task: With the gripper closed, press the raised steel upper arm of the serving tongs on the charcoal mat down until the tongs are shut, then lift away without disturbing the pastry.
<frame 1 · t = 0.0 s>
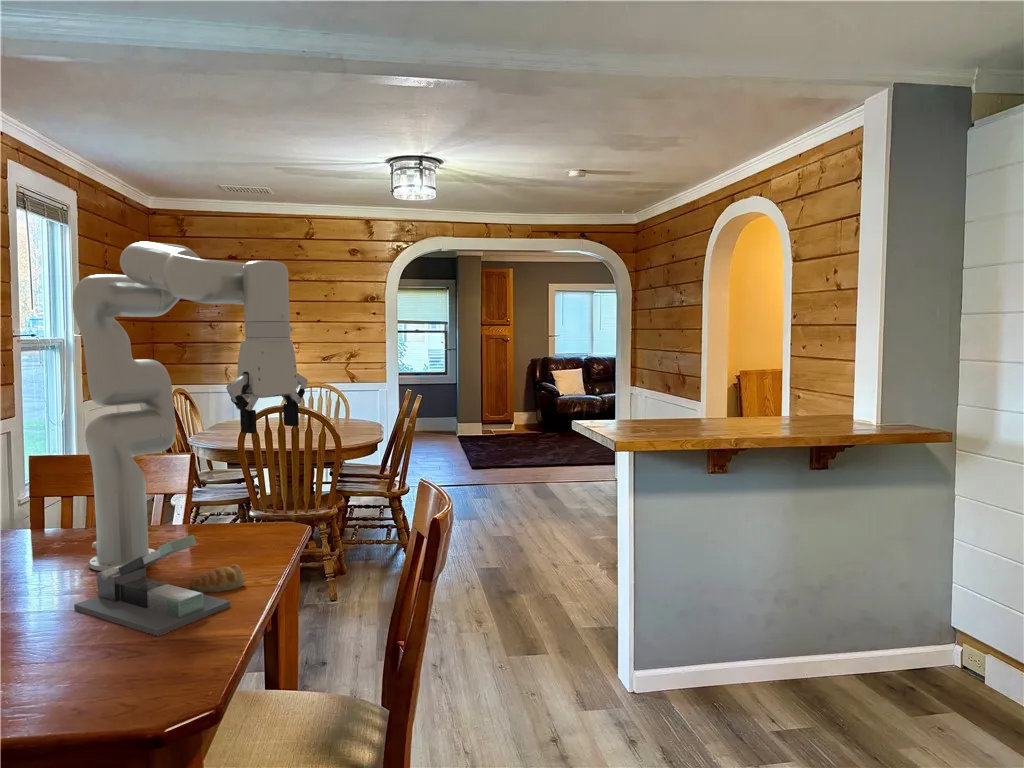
hand: (270, 429, 128), 31 cm above the table, tool pointing down, fingers open, 9 cm apart
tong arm: (156, 555, 126), point 10 cm above the table, hinge at 25.0°
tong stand: (123, 599, 132), resting on slate mat
pastry: (220, 588, 138), on the table
slate mat: (152, 608, 127), on the table
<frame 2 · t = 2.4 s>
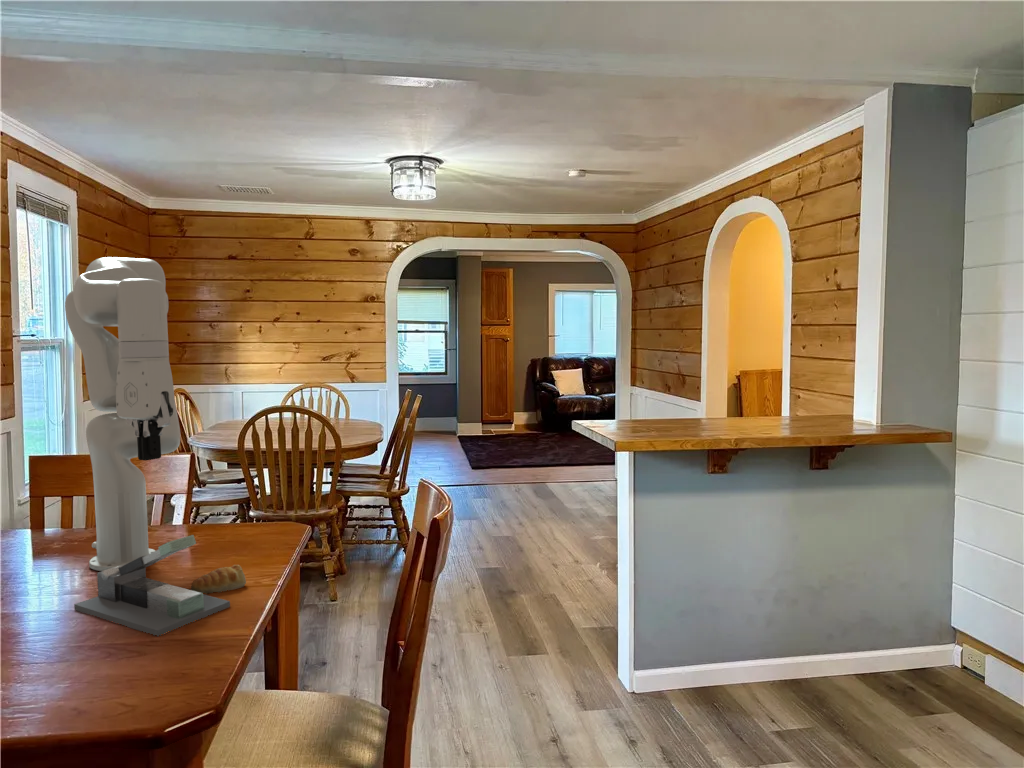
hand: (149, 458, 124), 27 cm above the table, tool pointing down, fingers closed
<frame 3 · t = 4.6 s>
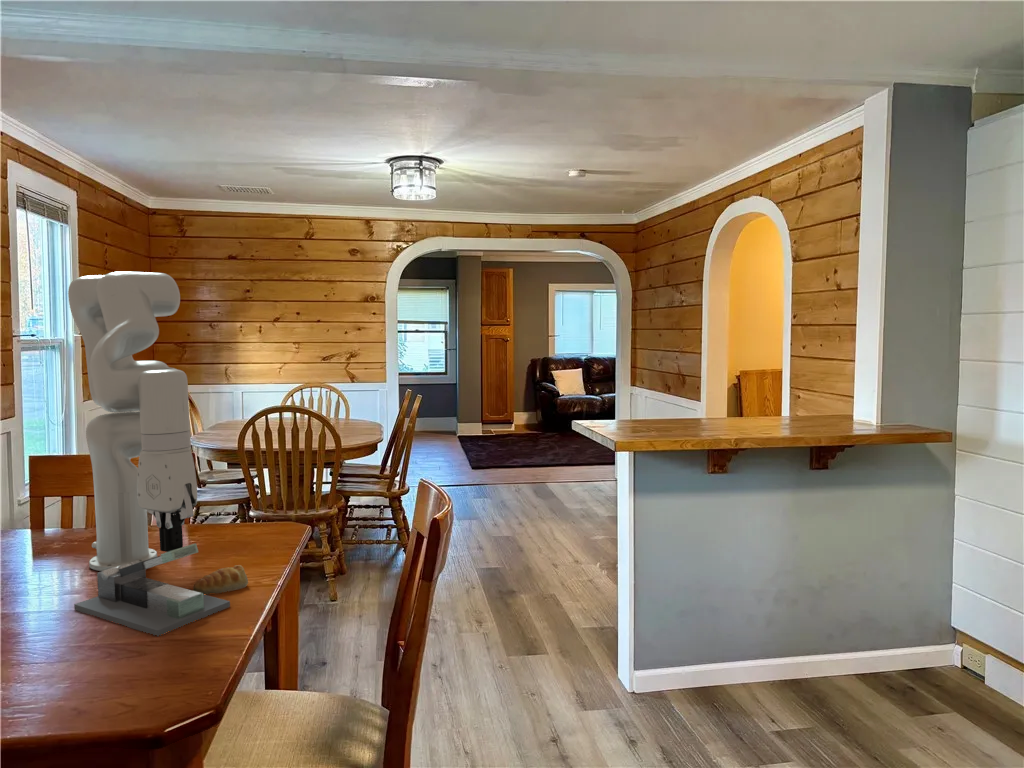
hand: (171, 549, 123), 12 cm above the table, tool pointing down, fingers closed
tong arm: (157, 560, 126), point 9 cm above the table, hinge at 20.4°, touching gripper
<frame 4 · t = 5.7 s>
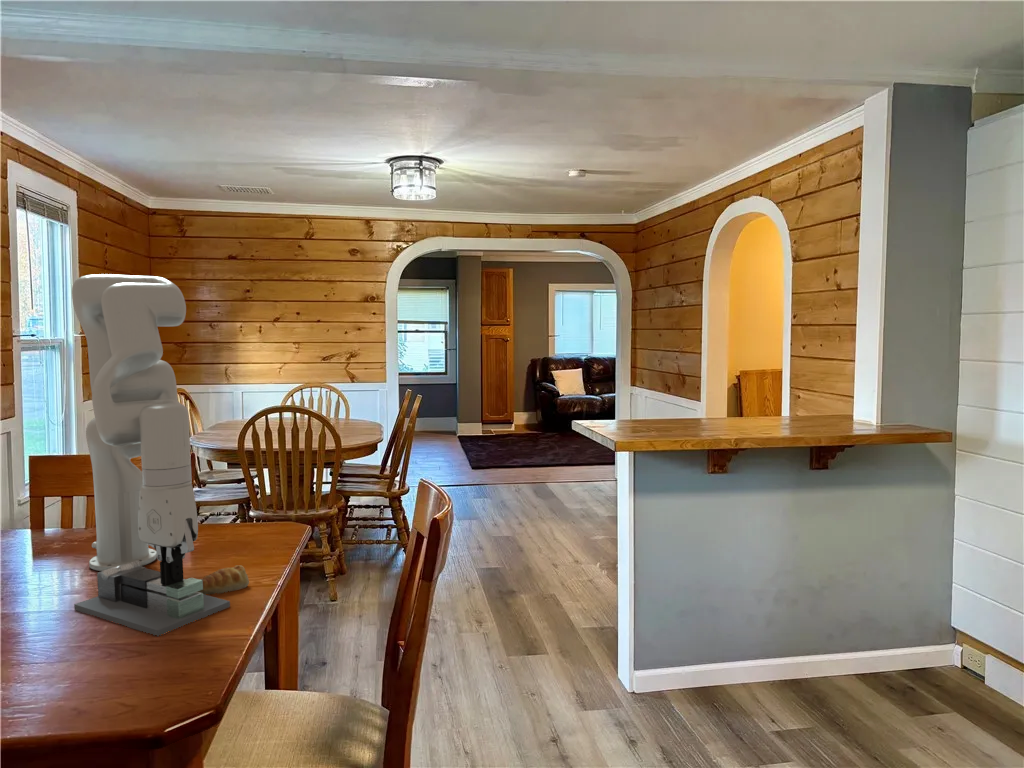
hand: (172, 582, 124), 6 cm above the table, tool pointing down, fingers closed
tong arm: (160, 582, 126), point 5 cm above the table, hinge at 0.9°, touching gripper
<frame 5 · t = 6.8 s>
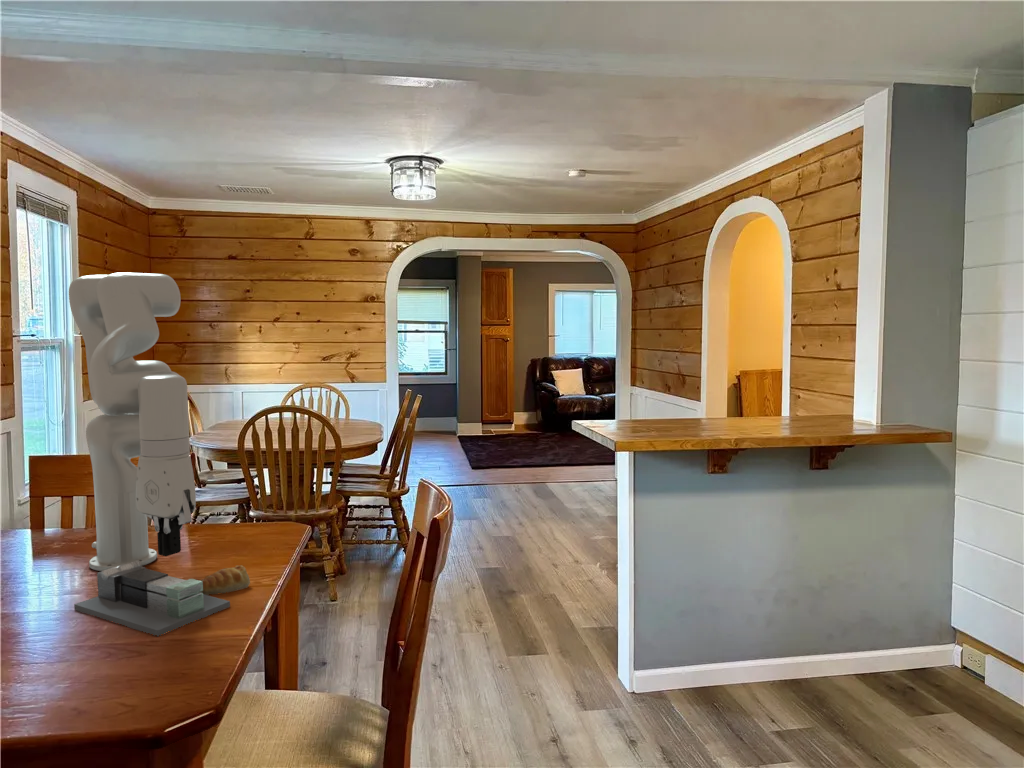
hand: (169, 553, 124), 11 cm above the table, tool pointing down, fingers closed
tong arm: (160, 582, 126), point 5 cm above the table, hinge at 0.3°
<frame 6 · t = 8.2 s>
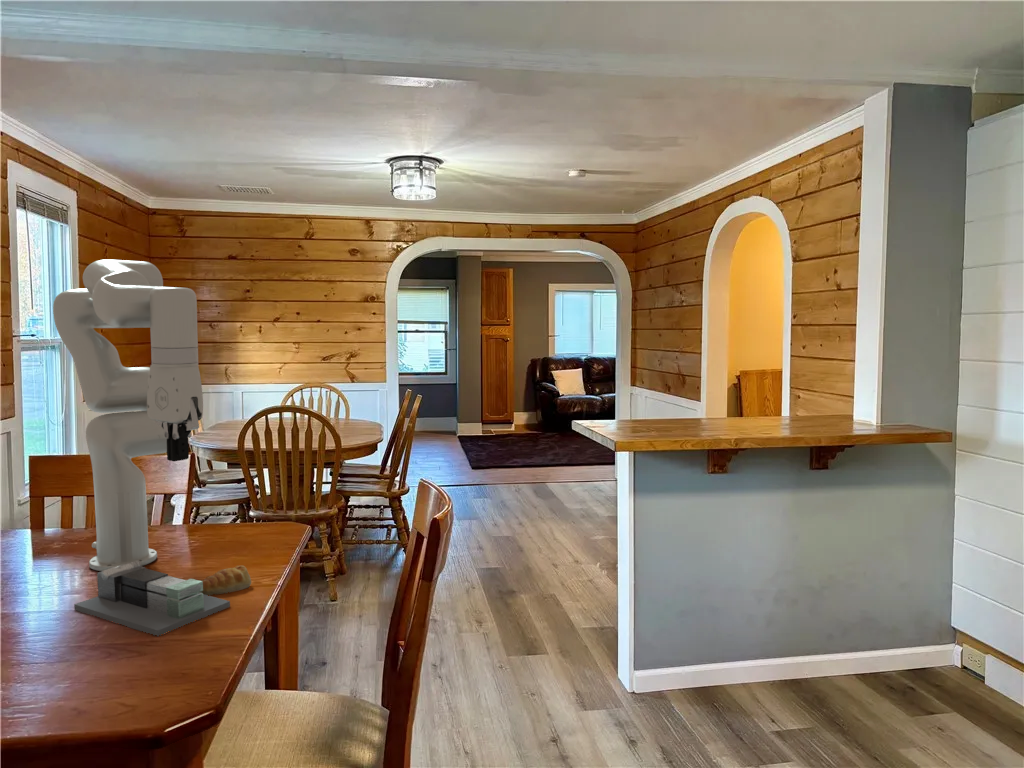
hand: (178, 459, 130), 26 cm above the table, tool pointing down, fingers closed
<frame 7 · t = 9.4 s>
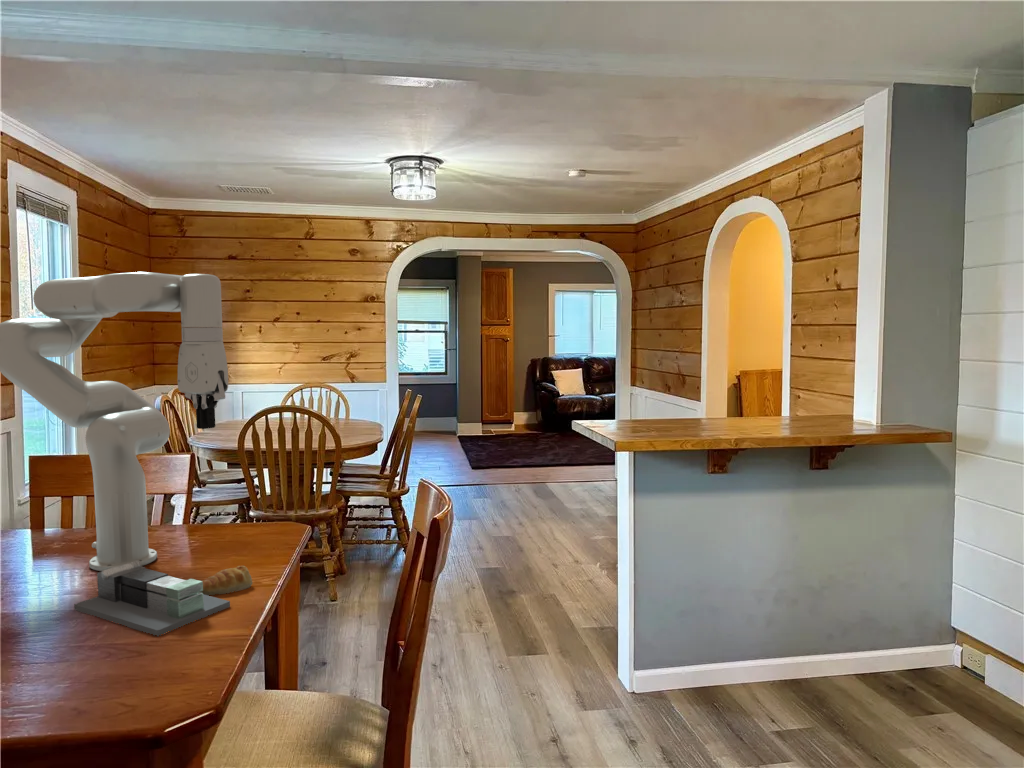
hand: (206, 427, 146), 29 cm above the table, tool pointing down, fingers closed
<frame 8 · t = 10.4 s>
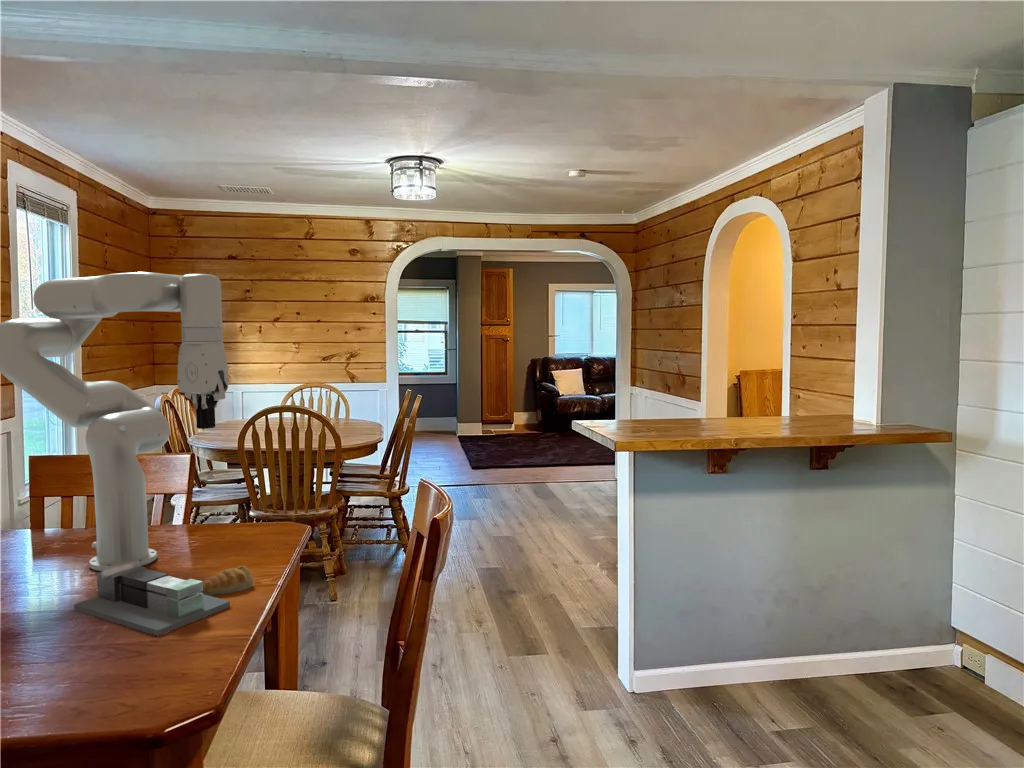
hand: (206, 427, 146), 29 cm above the table, tool pointing down, fingers closed
at the end: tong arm at +0° (first picture: +25°); pastry moved 2.3 cm from its start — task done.
